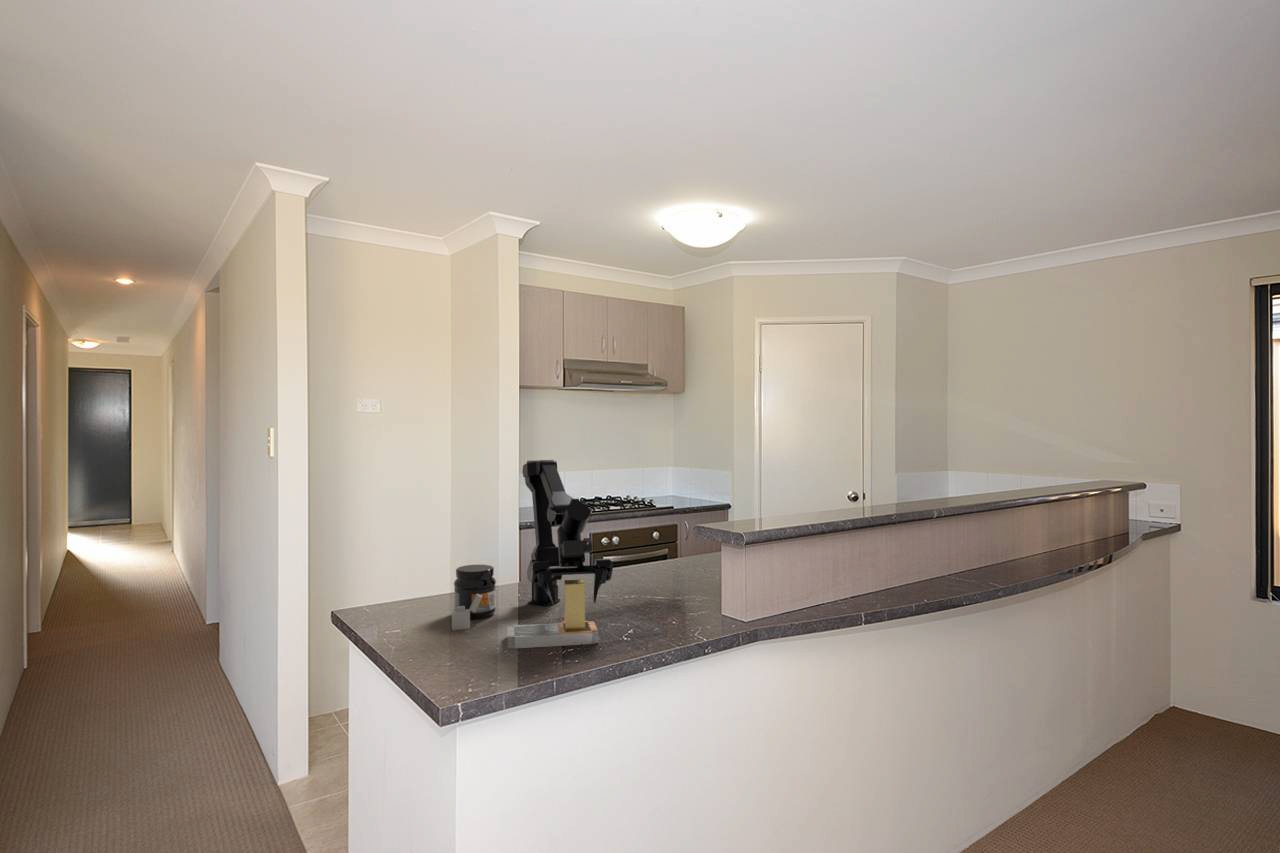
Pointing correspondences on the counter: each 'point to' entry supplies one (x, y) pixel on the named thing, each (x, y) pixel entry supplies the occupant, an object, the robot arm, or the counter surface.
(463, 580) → the supplement container
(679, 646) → the counter surface
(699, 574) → the counter surface
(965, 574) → the counter surface
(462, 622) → the lighter
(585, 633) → the divided tray
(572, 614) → the tan block
